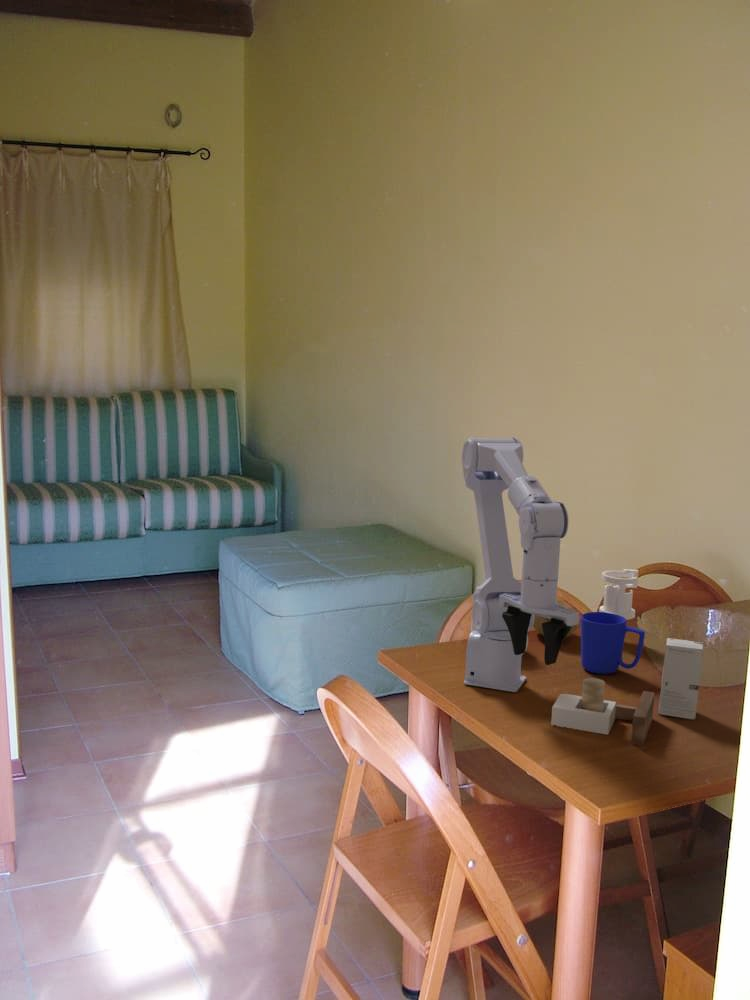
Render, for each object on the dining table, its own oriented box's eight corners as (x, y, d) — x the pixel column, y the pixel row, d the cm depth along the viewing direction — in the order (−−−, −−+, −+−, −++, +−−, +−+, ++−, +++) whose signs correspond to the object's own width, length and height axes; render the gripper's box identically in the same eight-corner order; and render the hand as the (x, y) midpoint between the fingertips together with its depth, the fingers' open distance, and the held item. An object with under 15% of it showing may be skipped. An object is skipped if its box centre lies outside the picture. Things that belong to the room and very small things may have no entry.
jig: (547, 729, 165) (548, 702, 164) (562, 704, 176) (563, 678, 175) (643, 745, 160) (645, 717, 159) (652, 718, 171) (654, 692, 170)
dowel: (578, 722, 167) (581, 683, 166) (582, 714, 170) (585, 676, 169) (599, 725, 166) (602, 686, 165) (603, 718, 169) (606, 680, 168)
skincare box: (658, 715, 173) (664, 644, 170) (659, 706, 177) (665, 636, 175) (697, 720, 171) (703, 649, 169) (697, 711, 175) (703, 641, 173)
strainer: (635, 647, 209) (641, 574, 206) (600, 645, 209) (605, 572, 206) (629, 636, 216) (634, 565, 213) (594, 635, 216) (599, 564, 213)
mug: (631, 685, 186) (635, 631, 185) (569, 670, 194) (573, 618, 192) (649, 674, 193) (653, 621, 191) (589, 659, 200) (592, 609, 198)
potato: (540, 648, 206) (543, 608, 205) (520, 627, 220) (522, 590, 218) (588, 647, 208) (591, 608, 206) (564, 626, 221) (567, 590, 220)
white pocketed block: (551, 725, 167) (552, 707, 166) (559, 710, 173) (561, 693, 173) (608, 734, 164) (609, 716, 163) (614, 719, 170) (616, 701, 169)
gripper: (592, 582, 165) (586, 664, 167) (519, 564, 175) (514, 642, 178) (565, 589, 160) (560, 674, 162) (492, 570, 170) (488, 650, 173)
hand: (534, 658), depth 170 cm, fingers open, 6 cm apart
